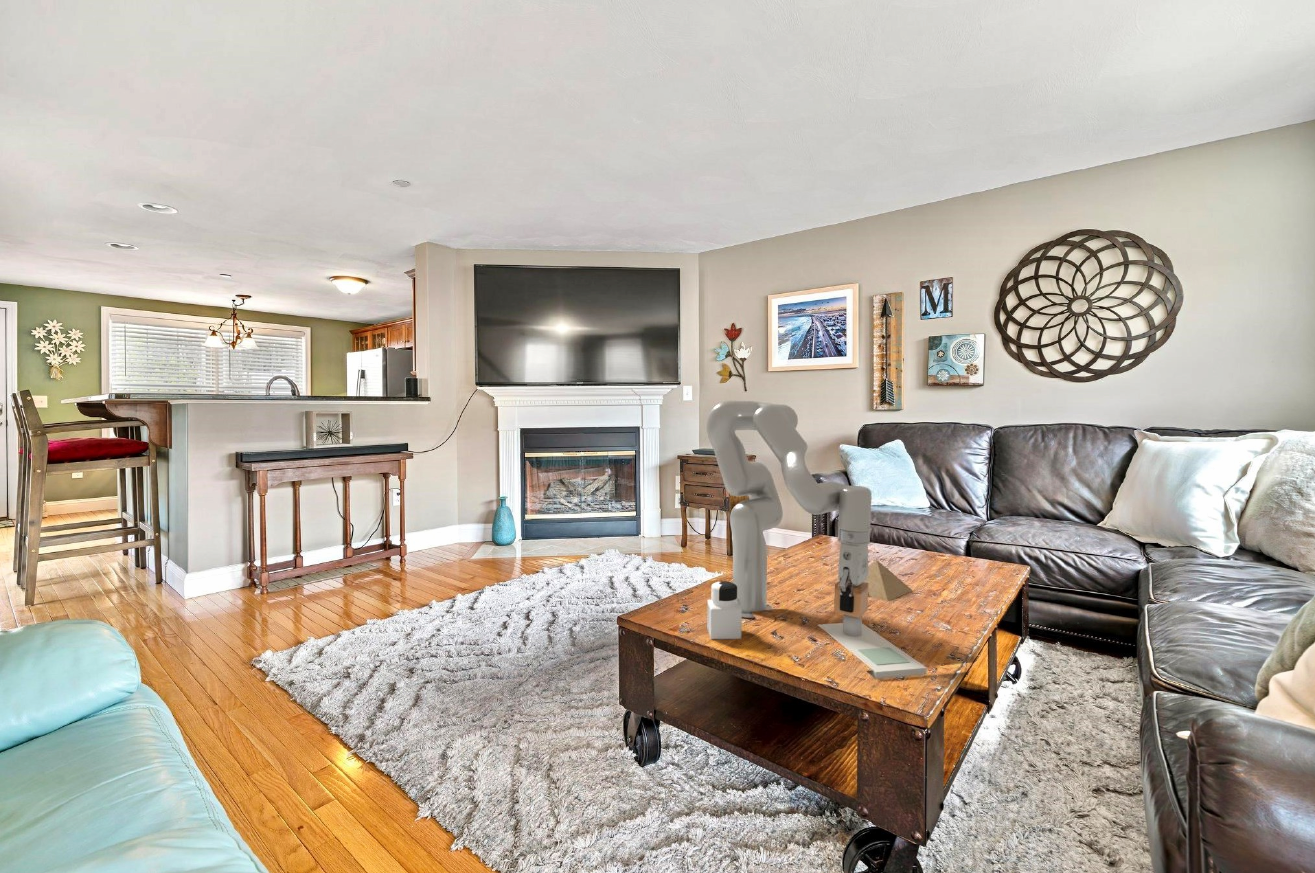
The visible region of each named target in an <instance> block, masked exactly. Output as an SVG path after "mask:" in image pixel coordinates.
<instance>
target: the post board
mask: <svg viewBox="0 0 1315 873" xmlns="http://www.w3.org/2000/svg"><path fill="white" fill-rule="evenodd" d="M842 616H843V617H842V618H843V619H842V620H843V621H842V622H839V623H837V622H836V623H823V624H821V623H820V624H817V626H818V628H819V627H820V628H821V629H822V630H823V631H824V632H826V633H827V634H828V635H829V636H831V637H832V638H833V639H834V640H835V641H837V643H839V644H840V645H842V647H844V648H845V649H846V650H848V651H849V652H850V653H851V654H852V655H854V656H855V658H858V659H859V660H860V661H861V662H863V663H864V664H865V665H866V666H867V667H868V668H870V669H871V670H866V672H867V674H869V675H870V676H871V677H872V678H874V679H875V680H877V679H878V680H879V679H891V678H890V677H892V678H902V677H904V678H905V677H911V676H910V675H916V676H926V675H927V669H928V668H927V667H926V666H925V665H924V664H922V663H920V662H919V661H917V660H916V659H914V658H913V657H912V656H910V655H909V654H907V653H906V652H904V651H903V650H902V649H900V648H899V647H897V645H896V646H895V645H894V644H893V643H891V642H890V641H888V640H887V639H886V638H884V637H882V636H881V635H880V634H878V632H875V631H874V630H873V629H871V628H870V627H868V626H867V625H865V623H863V616H862V617H861V618H858V617H853V616H849V615H844V614H842ZM925 674H926V675H925Z"/></svg>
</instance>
